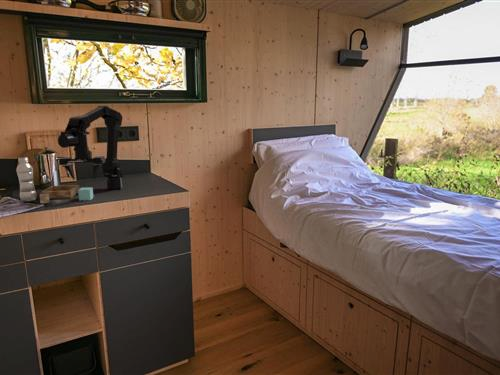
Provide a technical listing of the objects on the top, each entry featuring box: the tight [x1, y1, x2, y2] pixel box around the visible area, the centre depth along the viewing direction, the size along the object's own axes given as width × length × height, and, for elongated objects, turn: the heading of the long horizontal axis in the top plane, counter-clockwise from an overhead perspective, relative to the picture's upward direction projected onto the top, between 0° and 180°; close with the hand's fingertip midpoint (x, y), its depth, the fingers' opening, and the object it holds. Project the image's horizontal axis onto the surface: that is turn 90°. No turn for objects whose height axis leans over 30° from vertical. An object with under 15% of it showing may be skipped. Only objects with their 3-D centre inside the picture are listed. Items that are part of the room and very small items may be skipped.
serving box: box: [40, 184, 80, 200], centre depth 179 cm, size 13×13×4 cm
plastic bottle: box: [16, 156, 37, 203], centre depth 167 cm, size 6×7×20 cm
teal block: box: [77, 186, 94, 201], centre depth 172 cm, size 5×5×5 cm
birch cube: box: [39, 193, 51, 204], centre depth 167 cm, size 4×4×4 cm
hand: (84, 179), depth 171 cm, fingers open, 9 cm apart
